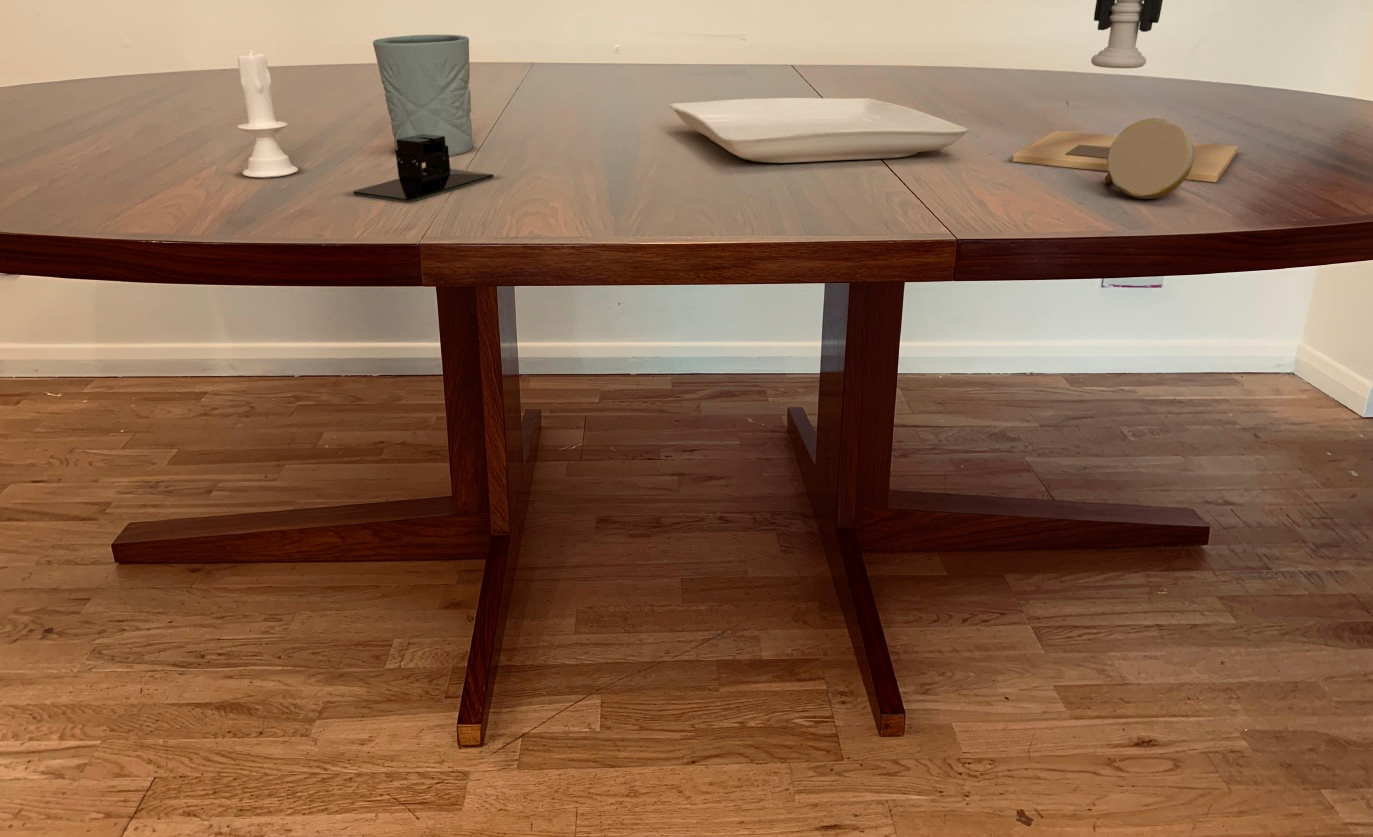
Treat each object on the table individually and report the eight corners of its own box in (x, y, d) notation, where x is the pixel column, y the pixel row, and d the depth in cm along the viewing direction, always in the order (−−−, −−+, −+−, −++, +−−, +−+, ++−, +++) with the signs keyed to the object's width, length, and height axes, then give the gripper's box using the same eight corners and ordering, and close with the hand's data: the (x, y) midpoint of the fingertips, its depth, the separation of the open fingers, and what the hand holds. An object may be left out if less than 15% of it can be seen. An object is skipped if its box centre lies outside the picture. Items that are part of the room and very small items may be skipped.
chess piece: (1152, 65, 106) (1169, -29, 102) (1134, 70, 102) (1150, -28, 98) (1101, 62, 109) (1116, -29, 105) (1082, 66, 105) (1096, -28, 102)
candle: (300, 166, 107) (281, 45, 102) (295, 176, 102) (275, 50, 97) (247, 168, 106) (224, 47, 101) (239, 179, 101) (215, 52, 96)
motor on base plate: (409, 204, 92) (402, 152, 90) (350, 195, 95) (342, 145, 93) (494, 177, 102) (490, 129, 100) (438, 170, 105) (433, 124, 103)
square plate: (970, 162, 109) (974, 125, 107) (725, 174, 103) (725, 135, 101) (869, 123, 133) (872, 92, 131) (666, 131, 127) (666, 98, 125)
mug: (1196, 187, 98) (1231, 103, 90) (1151, 248, 94) (1183, 165, 86) (1123, 159, 101) (1150, 75, 93) (1076, 217, 98) (1100, 134, 89)
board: (1236, 153, 113) (1238, 145, 113) (1216, 182, 99) (1218, 173, 99) (1053, 137, 123) (1055, 129, 122) (1012, 161, 109) (1013, 153, 109)
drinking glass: (496, 149, 116) (487, 37, 111) (423, 162, 109) (410, 43, 104) (441, 139, 122) (430, 32, 117) (368, 151, 115) (353, 38, 110)
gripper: (1061, -175, 97) (1033, 29, 105) (1252, -186, 89) (1207, 36, 97) (1079, -169, 103) (1051, 24, 111) (1260, -178, 95) (1217, 30, 103)
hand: (1124, 28), depth 104 cm, fingers closed on chess piece, 3 cm apart
